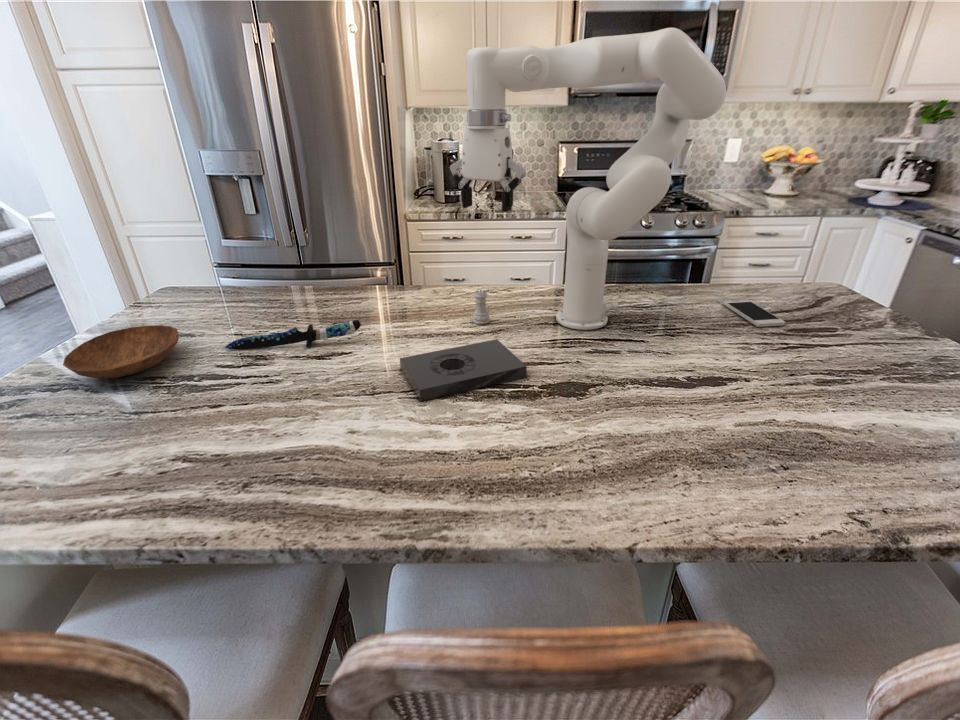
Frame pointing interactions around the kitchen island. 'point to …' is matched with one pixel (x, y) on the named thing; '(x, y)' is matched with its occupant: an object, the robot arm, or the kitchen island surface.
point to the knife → (295, 336)
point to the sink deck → (461, 369)
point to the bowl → (122, 351)
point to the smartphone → (754, 313)
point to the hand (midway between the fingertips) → (486, 208)
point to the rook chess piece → (480, 308)
